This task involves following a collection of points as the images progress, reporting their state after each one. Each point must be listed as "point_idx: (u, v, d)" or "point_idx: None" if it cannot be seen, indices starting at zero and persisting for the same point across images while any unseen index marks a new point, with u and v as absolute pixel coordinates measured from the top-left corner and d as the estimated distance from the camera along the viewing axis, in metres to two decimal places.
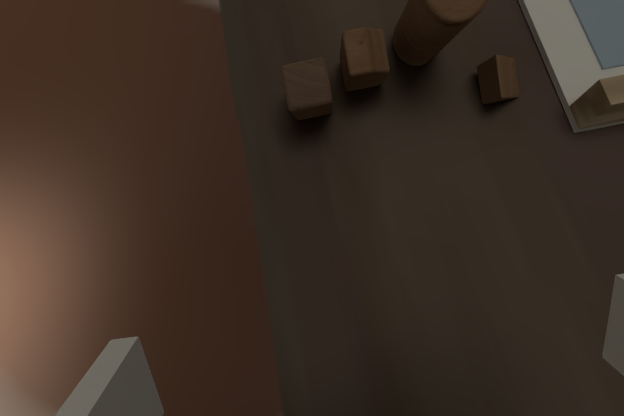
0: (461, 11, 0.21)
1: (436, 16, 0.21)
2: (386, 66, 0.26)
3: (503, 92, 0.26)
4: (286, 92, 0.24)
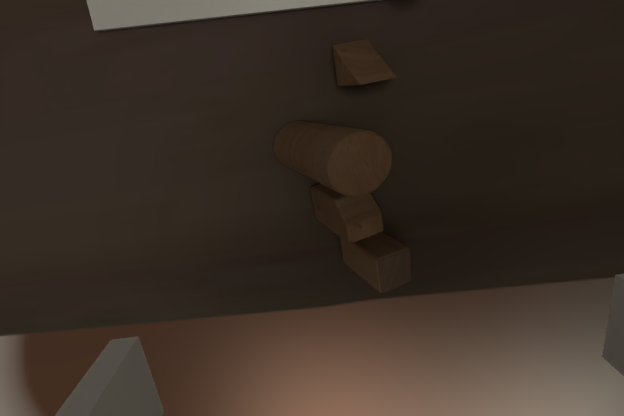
0: (386, 158, 0.21)
1: (384, 180, 0.22)
2: (367, 194, 0.27)
3: (390, 73, 0.26)
4: (399, 285, 0.28)
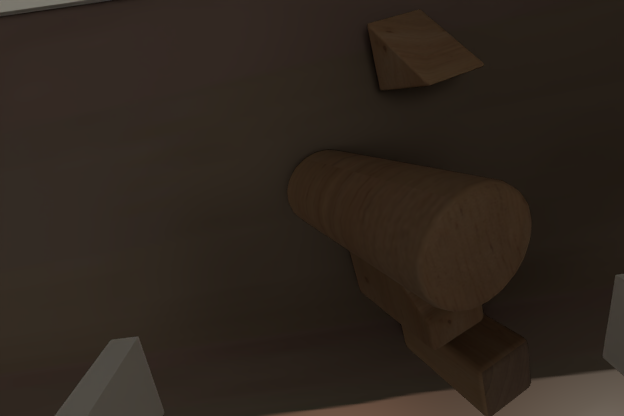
0: (523, 228, 0.11)
1: (515, 265, 0.11)
2: None
3: (473, 60, 0.15)
4: None
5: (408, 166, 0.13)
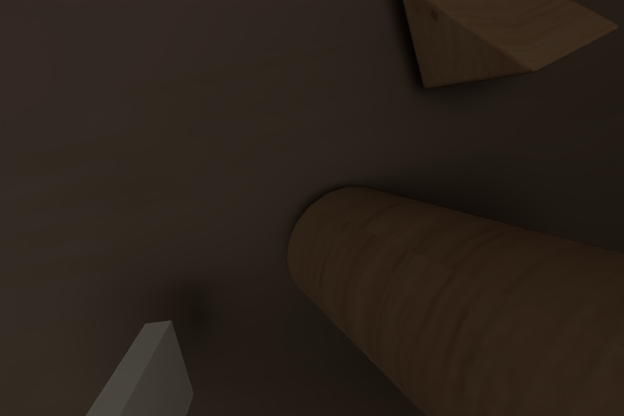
0: None
1: None
2: None
3: (597, 20, 0.09)
4: None
5: (537, 247, 0.06)
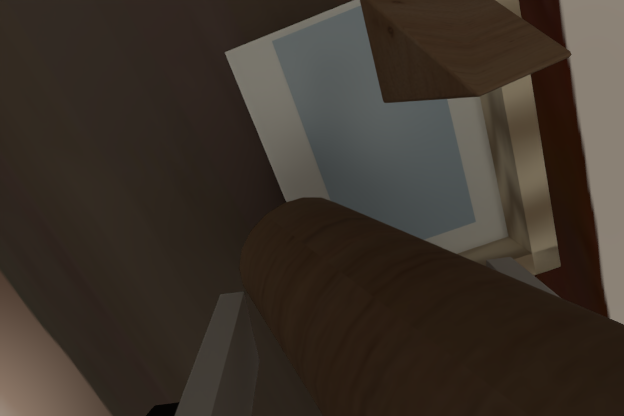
0: None
1: None
2: None
3: (551, 46, 0.08)
4: None
5: (456, 278, 0.06)
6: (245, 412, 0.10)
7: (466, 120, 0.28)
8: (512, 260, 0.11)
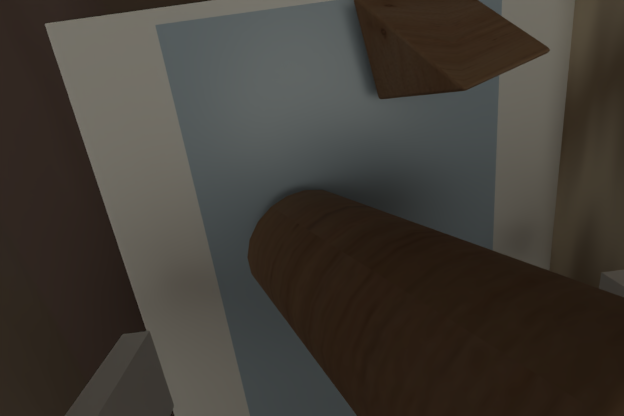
0: None
1: None
2: None
3: (531, 43, 0.09)
4: None
5: (444, 251, 0.07)
6: None
7: None
8: None
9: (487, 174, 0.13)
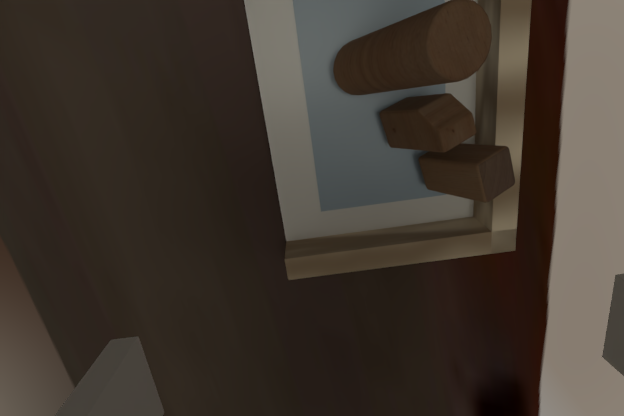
0: (486, 29, 0.18)
1: (485, 57, 0.19)
2: (451, 97, 0.24)
3: None
4: None
5: None
6: None
7: (458, 90, 0.29)
8: None
9: None
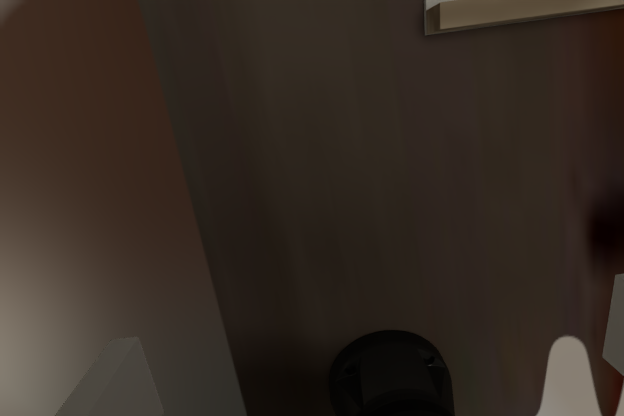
0: None
1: None
2: None
3: None
4: None
5: None
6: None
7: None
8: None
9: None
